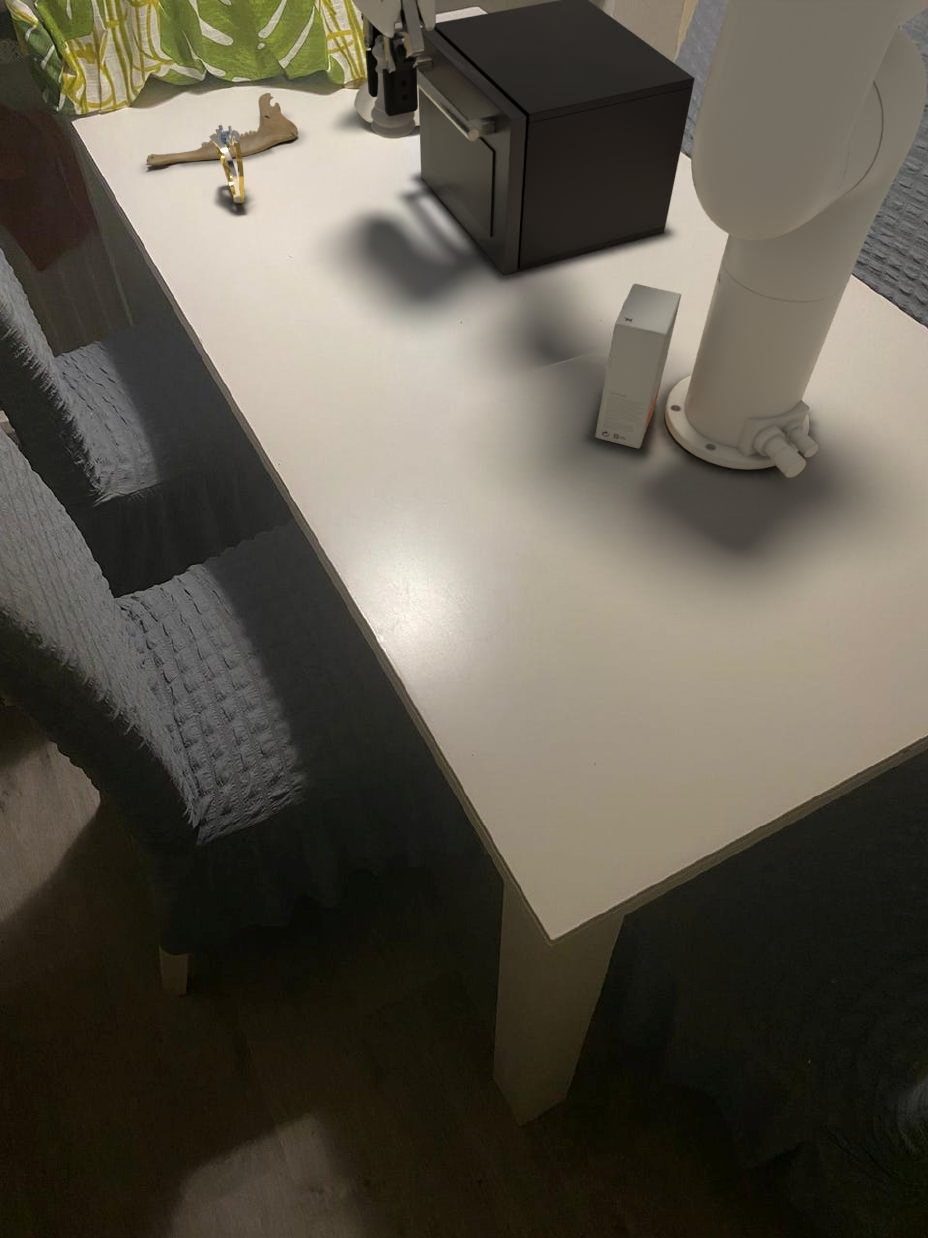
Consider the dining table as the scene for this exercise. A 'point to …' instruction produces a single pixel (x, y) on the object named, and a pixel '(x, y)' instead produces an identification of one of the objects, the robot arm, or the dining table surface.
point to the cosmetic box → (636, 364)
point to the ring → (230, 160)
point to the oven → (582, 123)
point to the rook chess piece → (381, 121)
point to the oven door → (471, 149)
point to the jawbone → (241, 137)
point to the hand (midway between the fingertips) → (393, 100)
